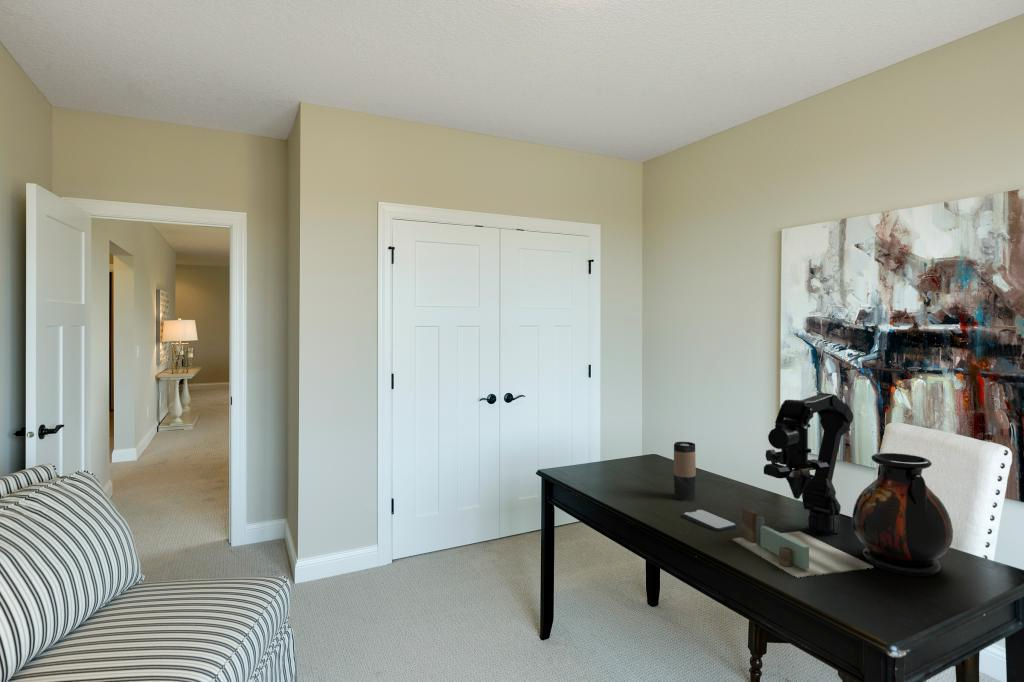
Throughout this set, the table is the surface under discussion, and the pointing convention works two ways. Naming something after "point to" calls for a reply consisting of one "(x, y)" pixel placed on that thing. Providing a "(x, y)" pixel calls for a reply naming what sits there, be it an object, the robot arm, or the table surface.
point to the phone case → (709, 520)
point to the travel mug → (684, 470)
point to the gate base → (820, 553)
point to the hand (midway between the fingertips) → (796, 498)
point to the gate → (781, 543)
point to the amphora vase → (902, 518)
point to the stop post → (785, 557)
